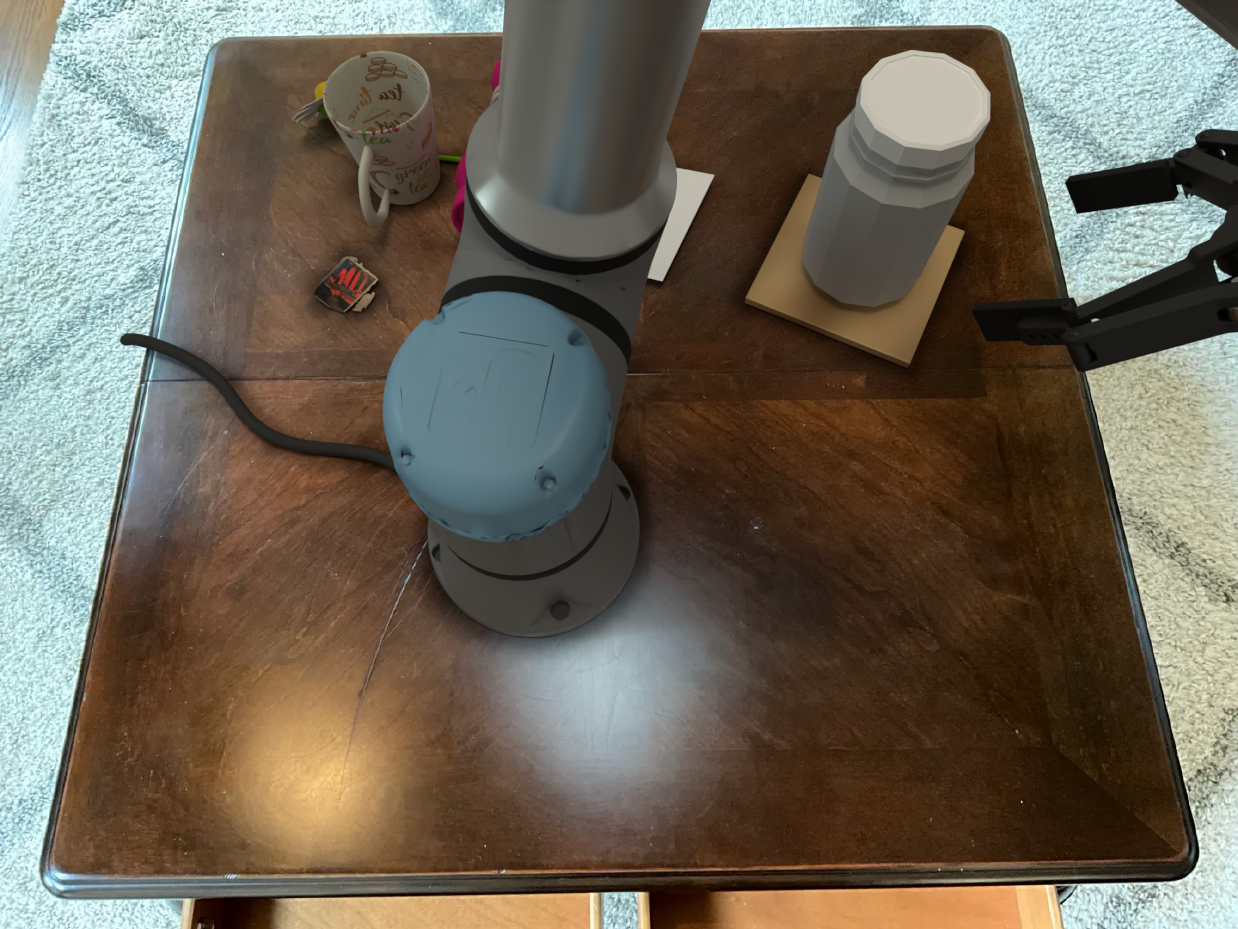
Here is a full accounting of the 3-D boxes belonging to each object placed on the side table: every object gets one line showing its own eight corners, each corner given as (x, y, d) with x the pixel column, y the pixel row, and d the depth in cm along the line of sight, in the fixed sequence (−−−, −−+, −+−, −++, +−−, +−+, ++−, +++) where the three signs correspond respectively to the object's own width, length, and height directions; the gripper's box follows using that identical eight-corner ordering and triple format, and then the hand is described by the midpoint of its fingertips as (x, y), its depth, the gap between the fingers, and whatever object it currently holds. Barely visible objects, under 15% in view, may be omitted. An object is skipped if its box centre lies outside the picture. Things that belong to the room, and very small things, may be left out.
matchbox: (310, 300, 73) (308, 297, 72) (341, 253, 74) (340, 249, 74) (359, 320, 72) (357, 317, 71) (390, 271, 74) (388, 268, 73)
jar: (904, 210, 75) (982, 33, 58) (930, 309, 71) (1022, 150, 54) (789, 220, 74) (835, 45, 58) (810, 319, 71) (865, 164, 54)
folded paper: (661, 289, 73) (662, 275, 71) (529, 241, 75) (527, 226, 73) (714, 181, 77) (716, 166, 75) (587, 139, 79) (586, 122, 77)
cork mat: (744, 302, 72) (745, 297, 71) (807, 179, 77) (808, 172, 76) (907, 368, 70) (910, 363, 69) (962, 236, 74) (965, 230, 74)
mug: (460, 143, 79) (438, 53, 70) (437, 261, 74) (409, 180, 65) (369, 137, 79) (334, 47, 70) (340, 254, 74) (298, 173, 65)
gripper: (1364, 450, 41) (961, 422, 58) (1516, 128, 49) (1122, 189, 66) (1333, 327, 37) (915, 337, 55) (1503, 3, 45) (1091, 102, 63)
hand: (1028, 256), depth 61 cm, fingers open, 13 cm apart
